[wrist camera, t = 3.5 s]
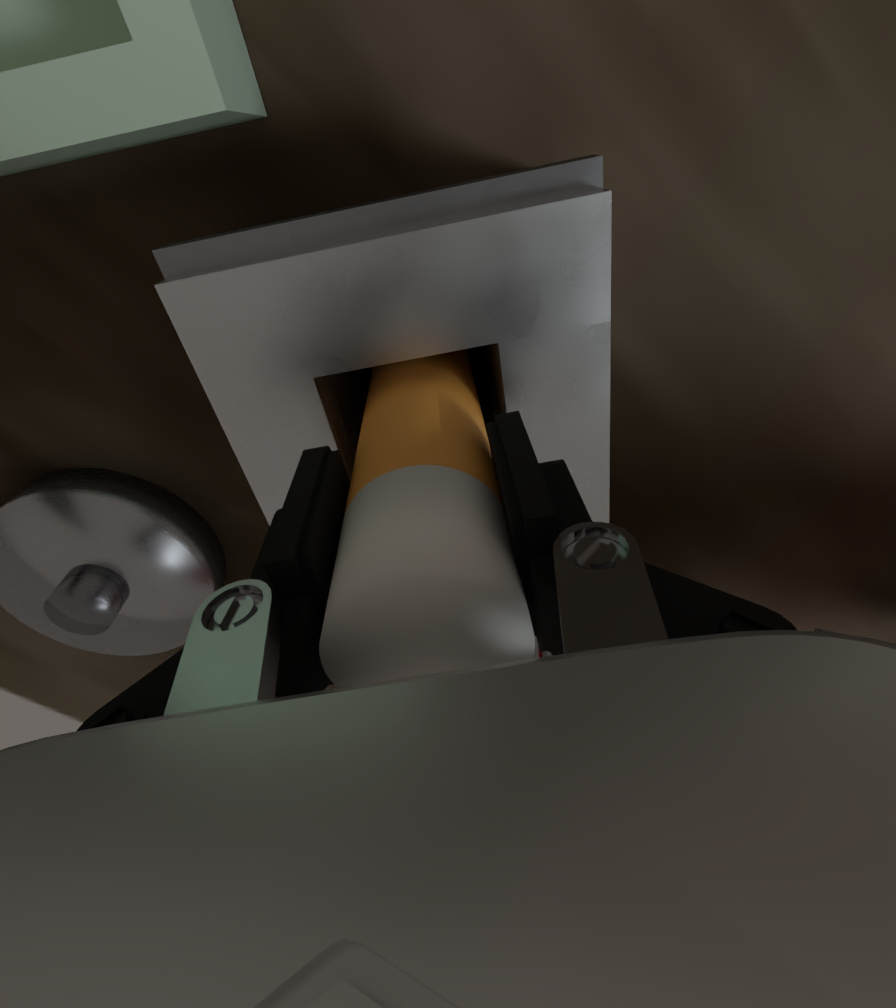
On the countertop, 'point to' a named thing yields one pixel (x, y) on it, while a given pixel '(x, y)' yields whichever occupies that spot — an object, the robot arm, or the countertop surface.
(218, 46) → the tray
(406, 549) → the pin
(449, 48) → the countertop surface
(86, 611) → the metal pot lid
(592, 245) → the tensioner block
